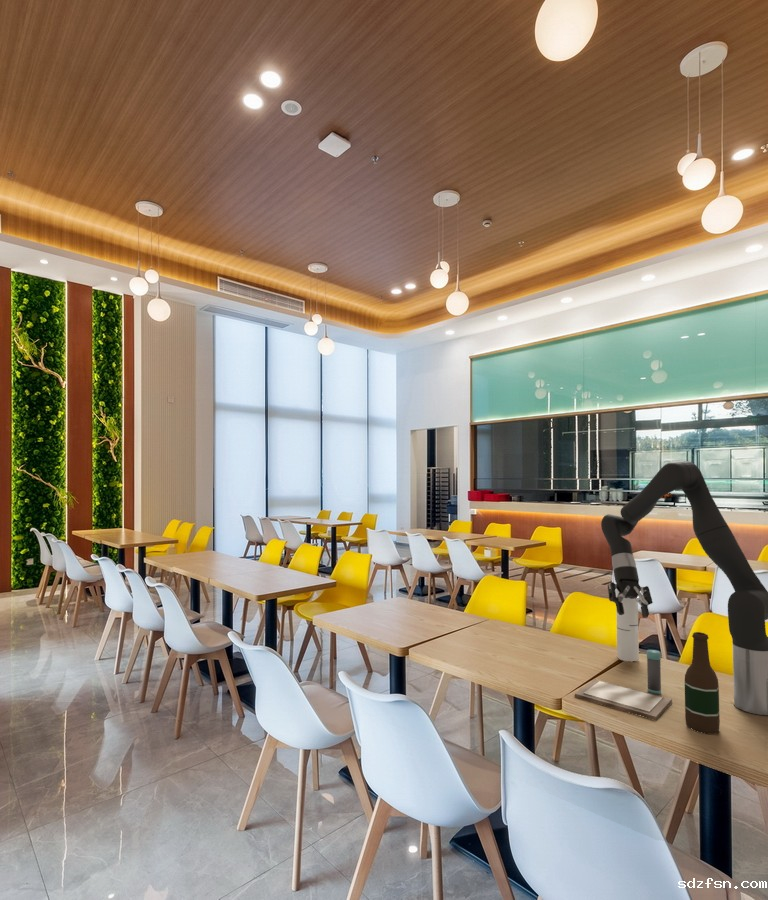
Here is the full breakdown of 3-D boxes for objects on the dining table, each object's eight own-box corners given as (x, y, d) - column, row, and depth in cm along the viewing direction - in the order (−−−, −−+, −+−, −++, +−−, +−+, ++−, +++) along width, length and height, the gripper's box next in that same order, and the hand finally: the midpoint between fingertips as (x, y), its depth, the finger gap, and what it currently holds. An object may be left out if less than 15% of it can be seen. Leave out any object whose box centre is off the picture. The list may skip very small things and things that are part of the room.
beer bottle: (715, 723, 138) (713, 631, 139) (724, 737, 130) (721, 639, 132) (682, 719, 140) (680, 628, 142) (688, 731, 133) (686, 635, 134)
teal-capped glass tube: (662, 691, 159) (662, 651, 159) (659, 695, 156) (658, 654, 157) (649, 688, 161) (648, 648, 162) (645, 692, 158) (645, 651, 159)
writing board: (671, 702, 151) (671, 698, 151) (656, 720, 139) (655, 715, 139) (594, 682, 166) (594, 678, 166) (574, 696, 154) (574, 692, 154)
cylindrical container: (642, 662, 186) (641, 590, 187) (622, 661, 186) (621, 590, 187) (633, 655, 193) (632, 586, 194) (613, 655, 193) (612, 586, 194)
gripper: (611, 563, 178) (619, 611, 170) (650, 567, 180) (660, 615, 171) (600, 570, 185) (607, 616, 176) (637, 574, 186) (647, 620, 178)
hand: (633, 615), depth 174 cm, fingers open, 8 cm apart
